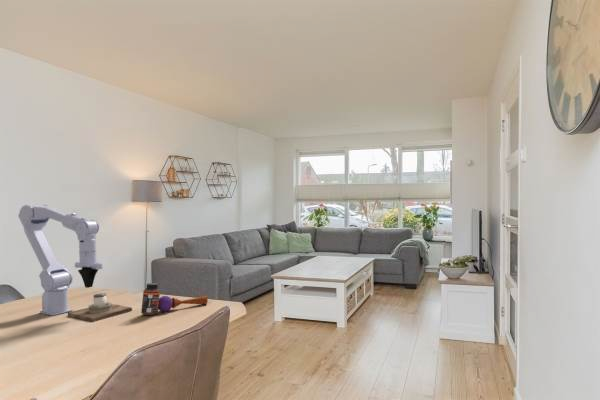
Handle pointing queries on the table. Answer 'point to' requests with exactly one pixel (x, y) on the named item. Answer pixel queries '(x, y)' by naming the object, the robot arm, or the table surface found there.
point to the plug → (100, 300)
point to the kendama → (178, 302)
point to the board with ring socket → (99, 312)
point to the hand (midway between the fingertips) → (88, 287)
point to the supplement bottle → (150, 299)
